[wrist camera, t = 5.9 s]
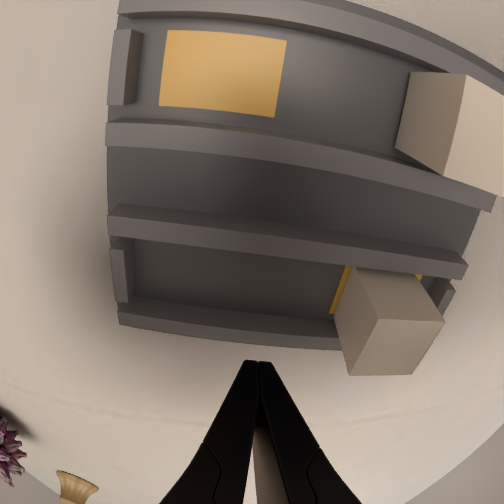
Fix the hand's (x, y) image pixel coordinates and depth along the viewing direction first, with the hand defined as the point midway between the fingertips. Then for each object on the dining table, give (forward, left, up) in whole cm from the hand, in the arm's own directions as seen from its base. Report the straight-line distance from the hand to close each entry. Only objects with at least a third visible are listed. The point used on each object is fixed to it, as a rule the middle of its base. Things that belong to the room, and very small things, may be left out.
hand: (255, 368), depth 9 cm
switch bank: (-2, -4, -6) cm, 8 cm away
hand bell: (+24, +51, -6) cm, 57 cm away
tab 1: (-5, 0, -4) cm, 7 cm away
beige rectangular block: (-6, -8, -5) cm, 11 cm away
